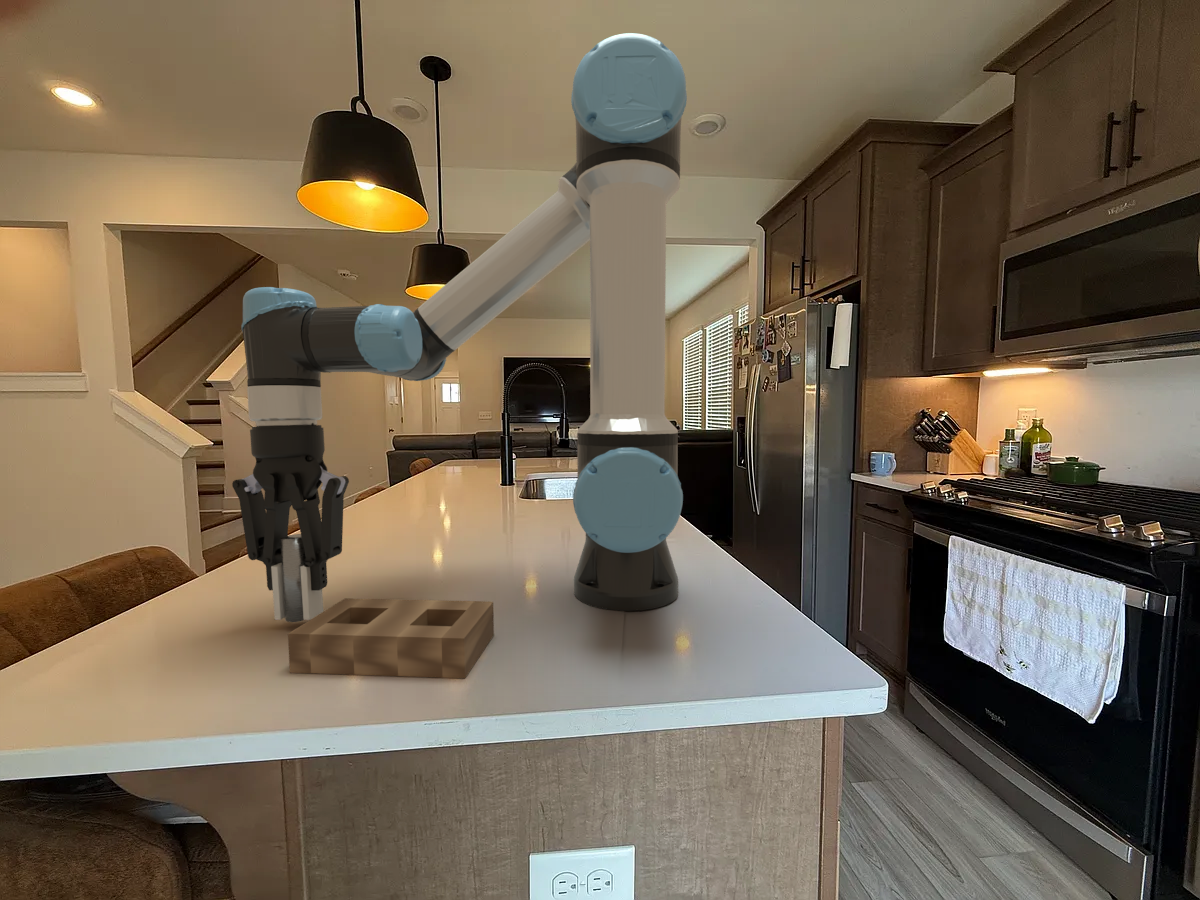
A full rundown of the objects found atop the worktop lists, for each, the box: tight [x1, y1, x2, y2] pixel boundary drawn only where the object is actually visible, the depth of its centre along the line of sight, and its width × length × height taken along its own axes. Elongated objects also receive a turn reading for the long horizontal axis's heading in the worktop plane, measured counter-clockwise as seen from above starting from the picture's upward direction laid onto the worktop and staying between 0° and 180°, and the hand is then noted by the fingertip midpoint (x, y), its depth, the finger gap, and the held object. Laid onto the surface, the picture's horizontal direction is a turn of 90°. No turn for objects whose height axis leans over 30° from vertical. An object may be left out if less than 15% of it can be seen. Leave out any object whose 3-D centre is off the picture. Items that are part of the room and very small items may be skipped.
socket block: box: [287, 598, 495, 679], centre depth 56 cm, size 18×10×4 cm, turn 86°
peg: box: [280, 533, 306, 623], centre depth 63 cm, size 3×3×10 cm
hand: (299, 615), depth 63 cm, fingers closed on peg, 3 cm apart
